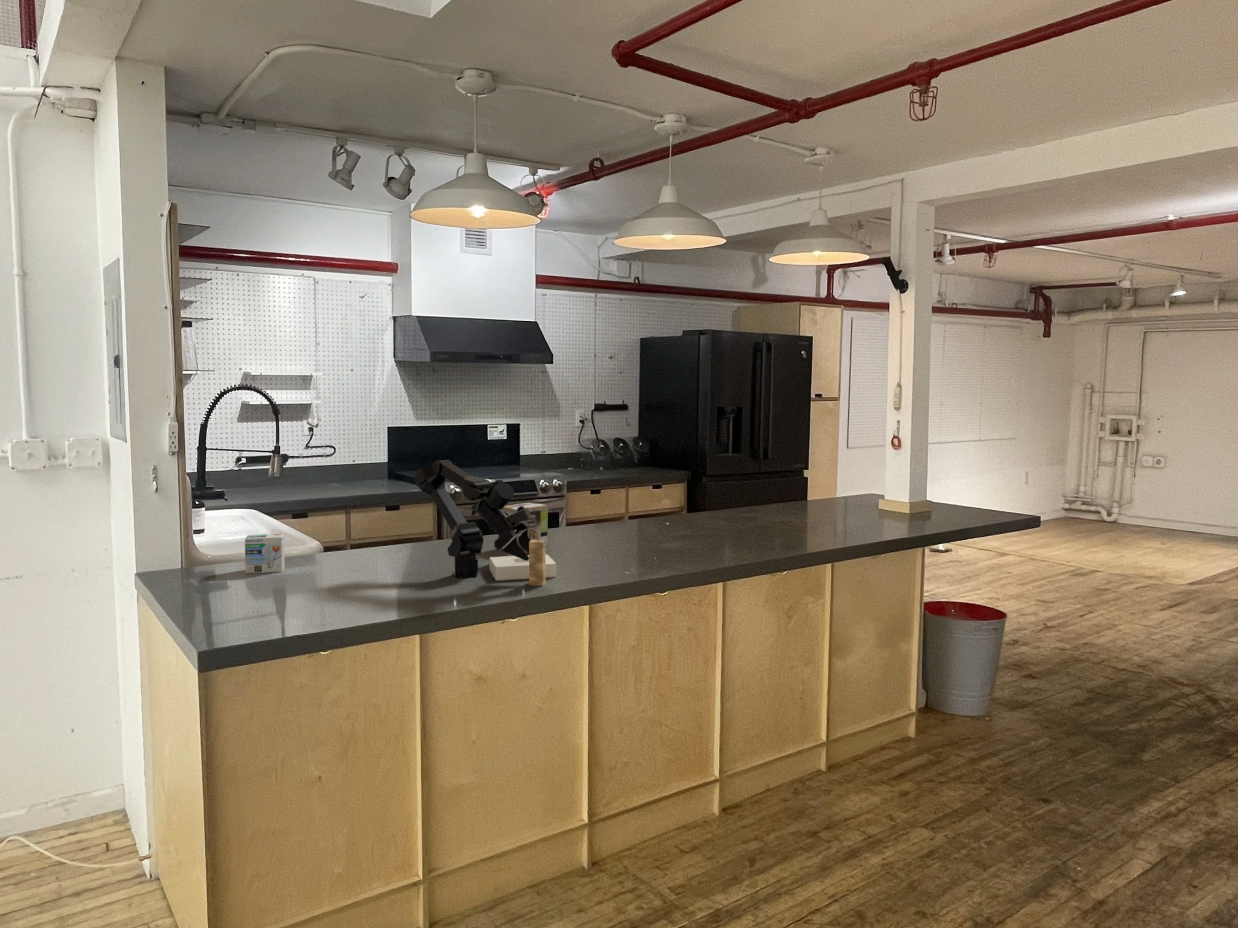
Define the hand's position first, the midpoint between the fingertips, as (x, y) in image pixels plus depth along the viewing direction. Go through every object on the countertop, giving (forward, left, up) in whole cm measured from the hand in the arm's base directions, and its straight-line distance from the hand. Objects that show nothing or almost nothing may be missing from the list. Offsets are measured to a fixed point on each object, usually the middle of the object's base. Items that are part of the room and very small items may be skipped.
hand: (532, 556), depth 255 cm
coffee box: (+3, +33, -8) cm, 34 cm away
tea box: (+6, +53, -8) cm, 54 cm away
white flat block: (-1, +13, -8) cm, 15 cm away
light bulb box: (-76, +36, -8) cm, 84 cm away
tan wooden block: (+1, -1, -8) cm, 8 cm away
